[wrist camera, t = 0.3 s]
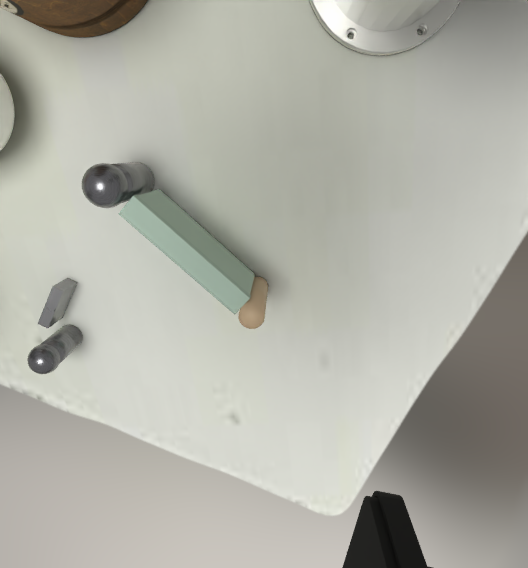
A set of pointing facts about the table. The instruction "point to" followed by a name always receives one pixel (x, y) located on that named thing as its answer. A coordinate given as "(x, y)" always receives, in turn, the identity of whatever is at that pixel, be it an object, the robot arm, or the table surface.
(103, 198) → the hinge post
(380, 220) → the table surface
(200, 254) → the gate
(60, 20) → the wooden container
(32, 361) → the post
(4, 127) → the lidded jar
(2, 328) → the table surface
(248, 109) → the table surface
